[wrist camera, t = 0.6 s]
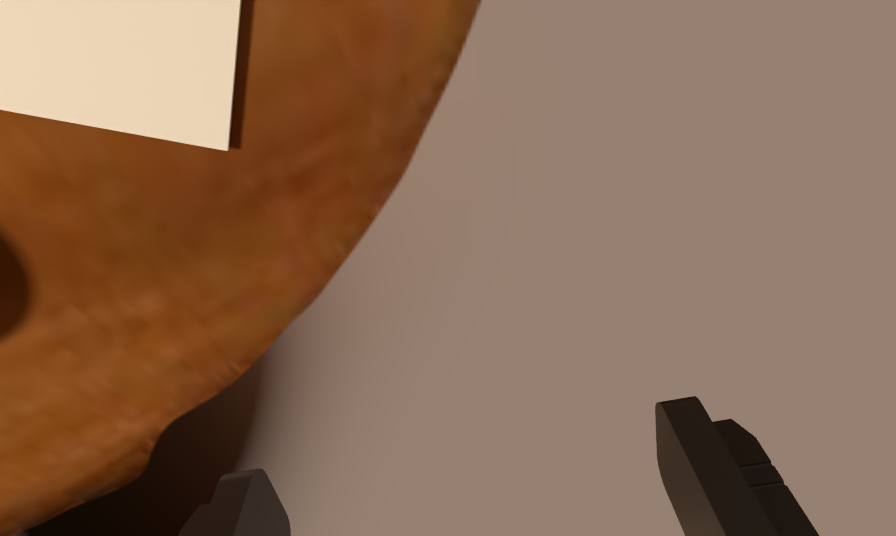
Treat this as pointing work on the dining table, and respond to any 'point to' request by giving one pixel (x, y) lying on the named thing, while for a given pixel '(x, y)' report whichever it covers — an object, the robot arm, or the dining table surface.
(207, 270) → the dining table surface
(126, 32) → the tile
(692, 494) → the robot arm
